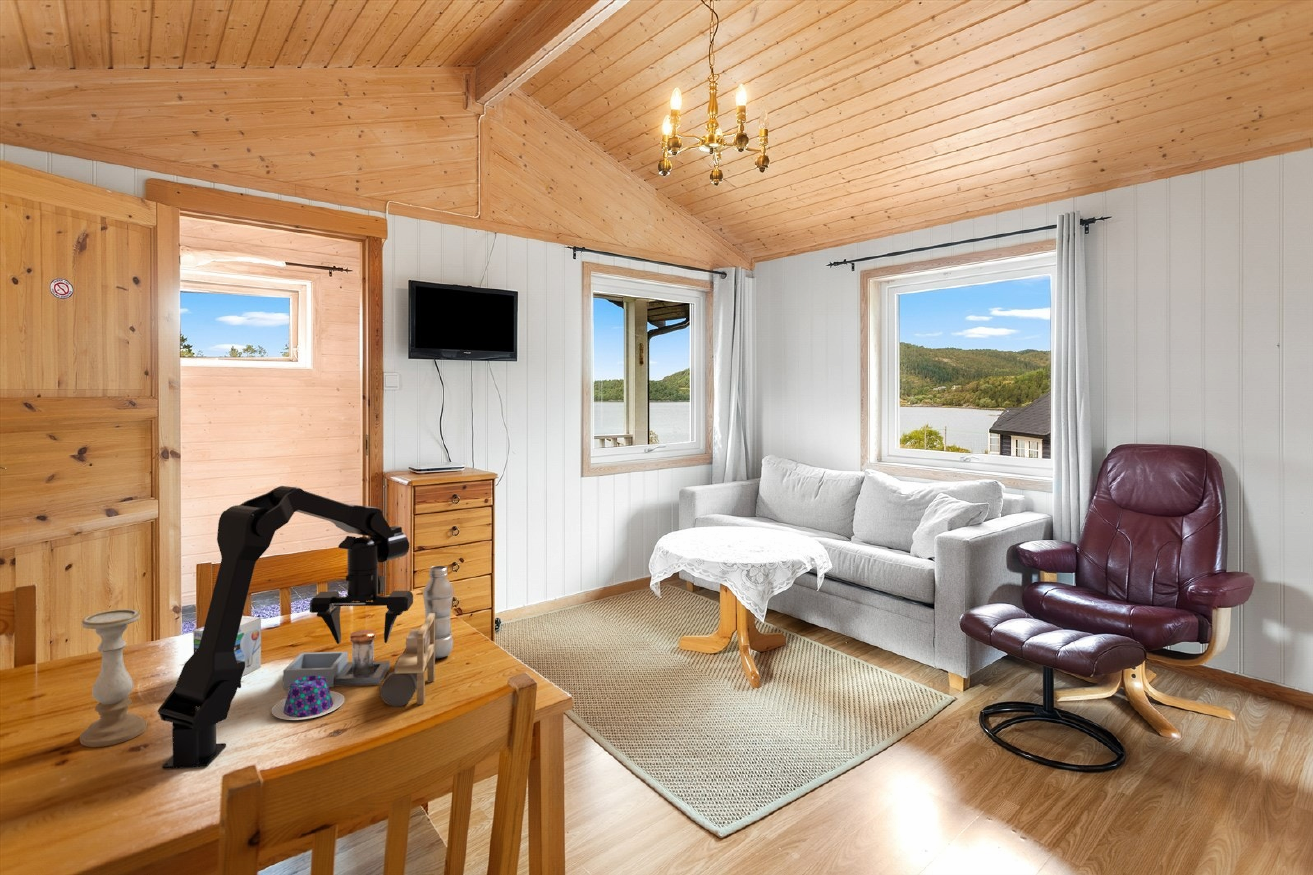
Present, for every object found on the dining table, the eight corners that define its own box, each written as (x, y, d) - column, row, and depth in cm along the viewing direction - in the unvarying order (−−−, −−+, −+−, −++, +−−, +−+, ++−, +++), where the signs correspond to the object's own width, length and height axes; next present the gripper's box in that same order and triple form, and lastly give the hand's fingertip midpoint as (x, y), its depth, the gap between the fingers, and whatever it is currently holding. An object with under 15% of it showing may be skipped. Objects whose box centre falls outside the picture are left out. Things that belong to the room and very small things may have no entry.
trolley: (422, 705, 128) (423, 633, 127) (380, 707, 127) (380, 634, 126) (435, 678, 140) (435, 612, 139) (396, 679, 139) (396, 613, 138)
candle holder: (138, 717, 120) (136, 604, 119) (153, 733, 115) (151, 615, 114) (74, 735, 114) (70, 616, 112) (87, 753, 108) (83, 628, 107)
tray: (333, 687, 135) (332, 669, 134) (283, 688, 133) (283, 670, 133) (347, 668, 144) (347, 651, 143) (301, 669, 142) (301, 652, 142)
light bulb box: (221, 687, 133) (220, 633, 132) (191, 684, 134) (191, 630, 134) (262, 666, 144) (262, 616, 143) (235, 663, 145) (235, 613, 144)
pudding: (309, 690, 134) (309, 664, 133) (358, 700, 130) (358, 673, 129) (255, 716, 122) (255, 688, 122) (307, 729, 118) (307, 699, 118)
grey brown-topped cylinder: (372, 681, 138) (372, 637, 137) (347, 682, 137) (347, 638, 136) (378, 671, 142) (378, 629, 142) (354, 672, 142) (354, 630, 141)
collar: (379, 684, 136) (379, 677, 136) (334, 686, 135) (334, 678, 135) (390, 667, 144) (390, 660, 144) (347, 669, 143) (347, 662, 143)
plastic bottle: (415, 658, 150) (415, 568, 149) (438, 648, 156) (438, 562, 155) (436, 664, 147) (437, 573, 146) (459, 654, 153) (460, 566, 152)
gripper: (418, 557, 147) (418, 628, 148) (327, 558, 145) (327, 630, 146) (407, 571, 136) (406, 647, 137) (308, 571, 134) (308, 649, 135)
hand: (362, 642), depth 139 cm, fingers open, 9 cm apart
